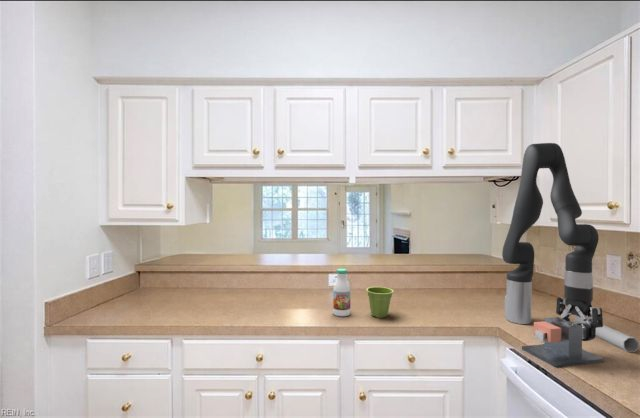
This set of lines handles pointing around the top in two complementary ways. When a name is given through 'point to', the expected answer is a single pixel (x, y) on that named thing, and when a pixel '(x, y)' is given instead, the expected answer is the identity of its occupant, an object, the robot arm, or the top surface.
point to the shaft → (543, 336)
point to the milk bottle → (341, 294)
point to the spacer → (549, 331)
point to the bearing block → (563, 346)
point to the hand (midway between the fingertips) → (578, 333)
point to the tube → (614, 337)
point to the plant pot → (379, 300)
